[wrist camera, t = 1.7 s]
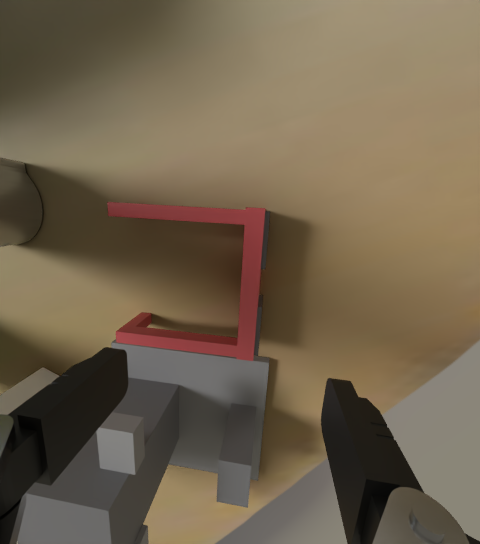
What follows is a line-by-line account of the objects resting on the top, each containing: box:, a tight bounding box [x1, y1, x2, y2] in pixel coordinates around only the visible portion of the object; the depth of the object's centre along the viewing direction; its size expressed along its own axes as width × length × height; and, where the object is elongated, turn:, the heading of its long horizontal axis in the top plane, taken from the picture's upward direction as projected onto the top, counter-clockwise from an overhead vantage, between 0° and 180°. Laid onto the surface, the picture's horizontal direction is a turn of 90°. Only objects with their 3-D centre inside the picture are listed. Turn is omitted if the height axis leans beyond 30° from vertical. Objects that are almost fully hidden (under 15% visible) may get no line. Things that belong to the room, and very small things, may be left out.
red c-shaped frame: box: [107, 202, 270, 361], centre depth 24 cm, size 14×14×5 cm
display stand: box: [17, 339, 269, 544], centre depth 24 cm, size 19×17×14 cm
